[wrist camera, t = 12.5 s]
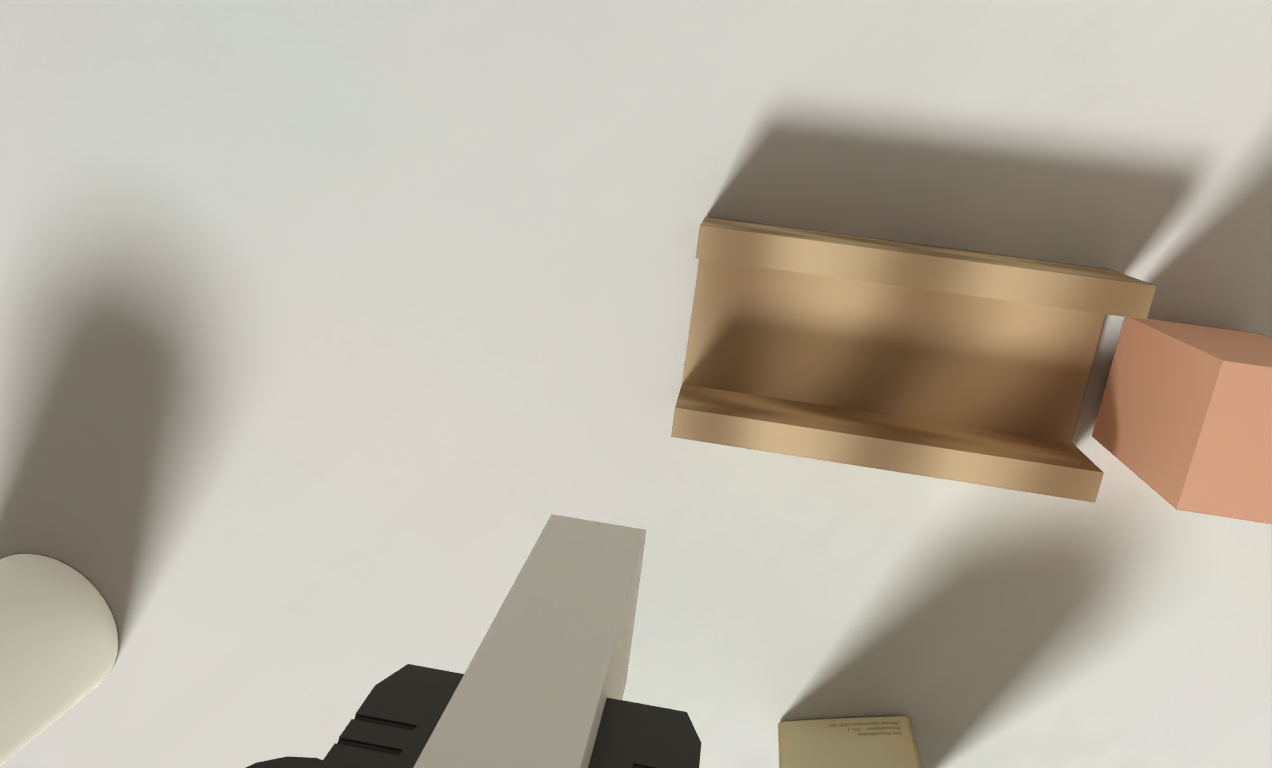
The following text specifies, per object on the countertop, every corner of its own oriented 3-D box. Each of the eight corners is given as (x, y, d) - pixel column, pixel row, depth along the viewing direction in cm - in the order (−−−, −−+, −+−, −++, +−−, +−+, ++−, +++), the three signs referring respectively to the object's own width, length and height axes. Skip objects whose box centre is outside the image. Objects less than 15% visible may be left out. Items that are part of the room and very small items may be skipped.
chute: (679, 406, 38) (671, 436, 35) (706, 216, 36) (699, 225, 32) (1059, 464, 37) (1095, 502, 33) (1111, 269, 35) (1156, 285, 31)
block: (1091, 436, 36) (1176, 509, 29) (1124, 315, 34) (1222, 360, 27) (1221, 455, 35) (1340, 534, 28) (1260, 333, 34) (1395, 384, 27)
